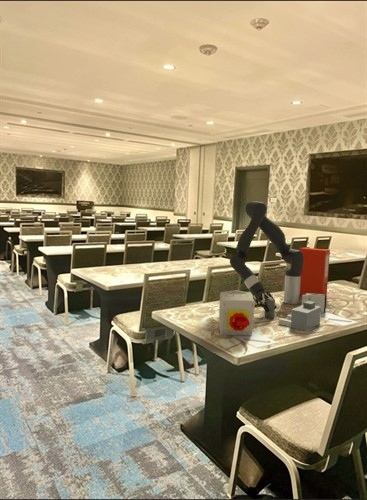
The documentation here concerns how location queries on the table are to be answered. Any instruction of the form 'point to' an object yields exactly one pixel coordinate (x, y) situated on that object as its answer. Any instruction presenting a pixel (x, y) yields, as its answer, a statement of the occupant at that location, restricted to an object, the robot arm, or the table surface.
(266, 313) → the dark grey tube
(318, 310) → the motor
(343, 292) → the table surface
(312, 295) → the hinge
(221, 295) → the electrical switch box
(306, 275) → the file binder
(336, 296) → the table surface
